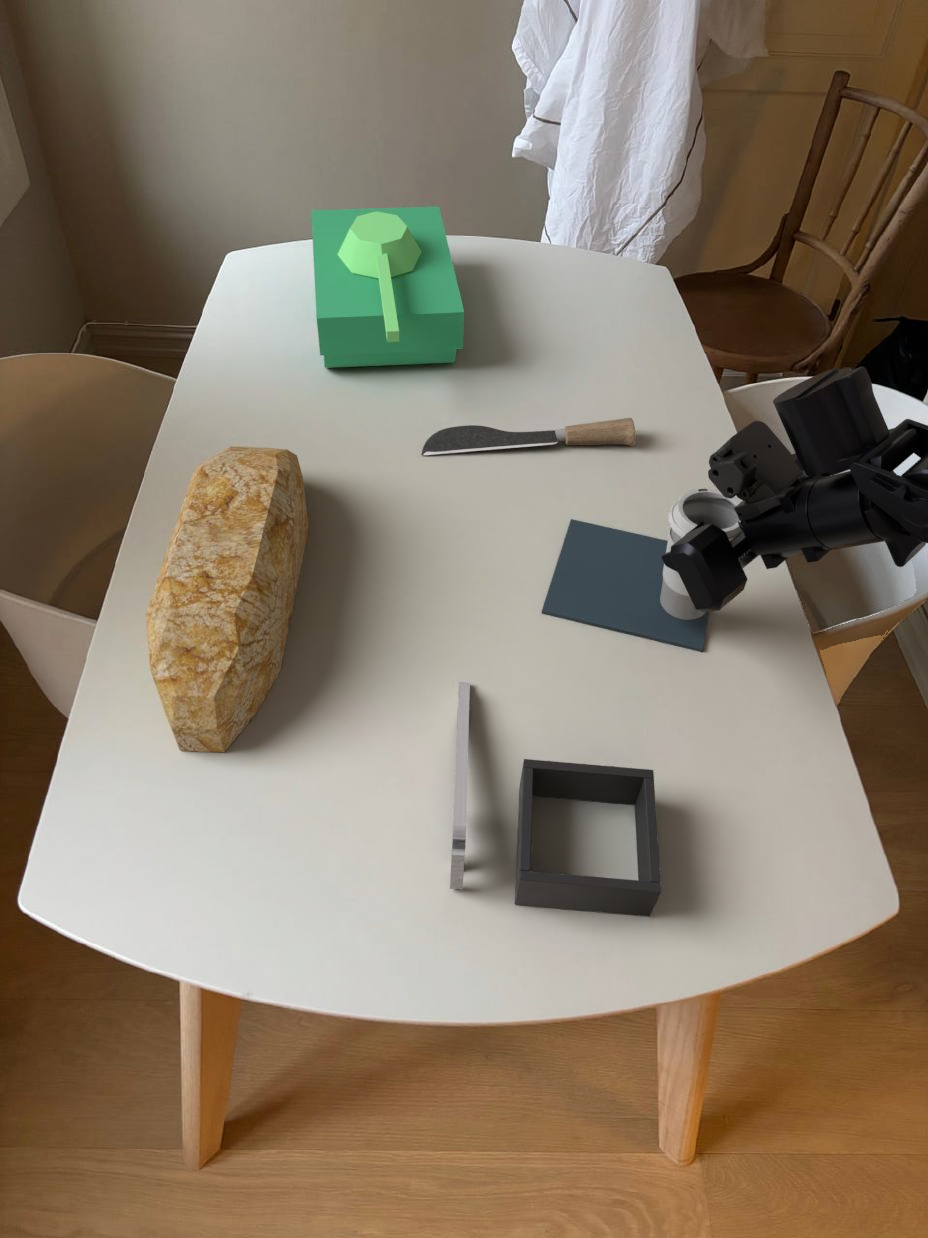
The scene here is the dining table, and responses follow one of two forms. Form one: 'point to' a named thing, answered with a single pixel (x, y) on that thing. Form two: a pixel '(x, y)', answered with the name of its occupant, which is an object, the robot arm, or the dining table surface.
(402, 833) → the dining table surface
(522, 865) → the holder
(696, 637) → the mat
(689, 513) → the cup
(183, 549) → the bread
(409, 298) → the toy tank
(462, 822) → the caliper
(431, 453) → the hand tool
